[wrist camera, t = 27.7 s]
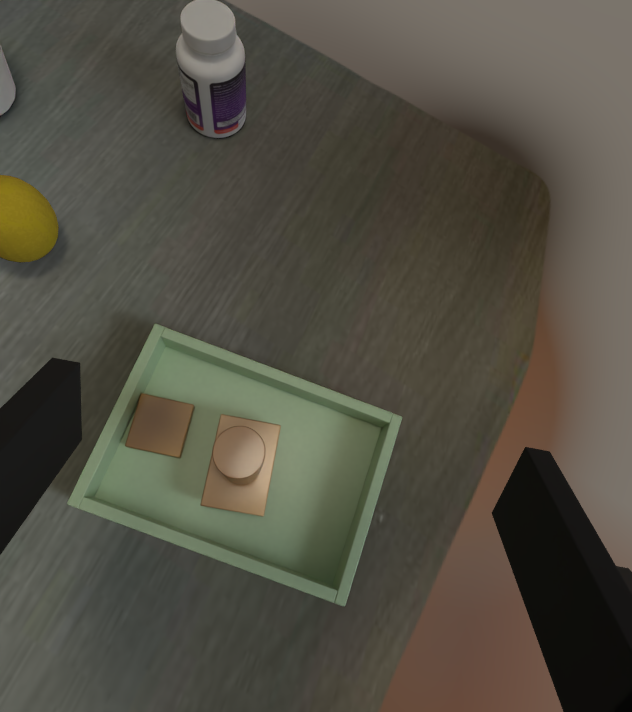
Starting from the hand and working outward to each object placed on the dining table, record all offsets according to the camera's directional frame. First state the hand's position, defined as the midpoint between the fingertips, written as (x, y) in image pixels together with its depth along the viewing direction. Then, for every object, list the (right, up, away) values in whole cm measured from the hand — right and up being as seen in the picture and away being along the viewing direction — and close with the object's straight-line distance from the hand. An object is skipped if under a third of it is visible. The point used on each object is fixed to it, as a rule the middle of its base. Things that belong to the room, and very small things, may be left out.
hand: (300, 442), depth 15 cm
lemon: (-22, +11, +26) cm, 36 cm away
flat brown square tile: (-11, -3, +23) cm, 25 cm away
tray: (-5, -5, +23) cm, 24 cm away
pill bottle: (-9, +25, +32) cm, 41 cm away
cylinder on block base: (-5, -6, +23) cm, 24 cm away
